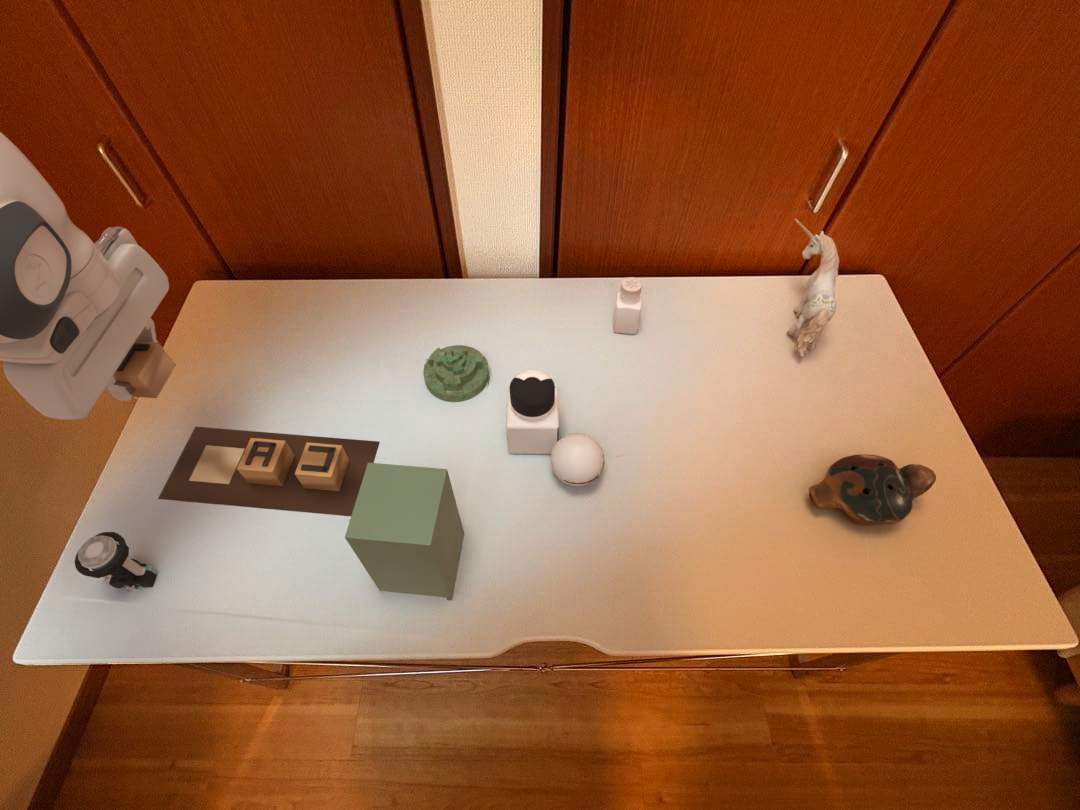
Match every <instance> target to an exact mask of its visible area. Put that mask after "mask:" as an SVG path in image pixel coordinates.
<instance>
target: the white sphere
mask: <svg viewBox="0 0 1080 810" xmlns="http://www.w3.org/2000/svg"><path fill="white" fill-rule="evenodd" d="M622 456H623V454H621V455H620V457H622ZM617 457H619V455H617V456H616V458H617ZM614 458H615V456H613V457H612V459H614ZM610 459H611V458H608V460H610ZM549 460H550V466H551V470H552V472H553V474H554V475H555V477H556V478H557V479H558V480H559V481H561V483H563V484H566V485H568V486H570V487H584V486H587V485H589V484H591V483H594V481H596V480H597V479H598V478H599V476H600V474H601V472H602V471H603V469H604V466H605V455H604V452H603V448H602V446H601V445H600V444H599V442H598V441H597V440H595V438H593V437H592V436H591V435H588V434H586V433H583V432H572V433H569V434H566V435H564V436H562V437H561V438H560V439H558V442H556V444H555V446H554V447H553V450H552V453H551V454H550V459H549Z"/></svg>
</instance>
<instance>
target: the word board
mask: <svg viewBox="0 0 1080 810" xmlns="http://www.w3.org/2000/svg"><path fill="white" fill-rule="evenodd" d="M250 438H258V439H270V440H283V441H286V443H287V444H288V446H289V447H290V449H291V450H292V452H293V454H294V455H295V456H294V459H293V462H292V464H291V467H290V469H289V472H288V474H287V477H286V479H285V482H284V485H283V486H275V485H264V484H252V483H248V482H247V481H246V480H245V478H244V477H243V476H242V475H241V473H240V472H239V471H238V470H237V467H238V465H239V463H240V460H241V458H242V456H243V454H244V452H245V449H246V447H247V445H248V443H249V441H250ZM306 443H320V444H332V445H342V447H343V449H344V451H345V453H346V455H347V457H348V458H349V463H348V466H347V469H346V472H345V475H344V478H343V481H342V484H341V487H340V490H339V491H331V490H320V489H309V488H304V487H303V486H302V484H301V483H300V481H299V480H298V478H297V477H296V475H295V472H296V469H297V466H298V464H299V461H300V459H301V456H302V453H303V451H304V448H305V446H306ZM380 443H381V441H378V440H367V439H366V440H365V439H353V438H342V437H341V438H340V437H329V436H317V435H316V436H315V435H303V434H293V433H280V432H269V431H268V432H267V431H257V430H243V429H233V428H232V429H231V428H217V427H207V426H195V427H194V428H193V430H192V432H191V434H190V436H189V438H188V440H187V442H186V444H185V445H184V447H183V450H182V452H181V453H180V455H179V456H178V459H177V461H176V463H175V465H174V467H173V469H172V470H171V473H169V474H170V475H169V476H168V478H167V481H166V483H165V484H164V486H163V487H162V490H161V492H160V494H159V496H158V498H157V500H164V501H174V502H175V501H177V502H186V503H198V504H207V505H208V504H209V505H218V506H219V505H220V506H230V507H241V508H253V509H263V510H264V509H265V510H275V511H286V512H287V511H288V512H297V513H307V514H319V515H328V516H329V515H331V516H339V517H340V516H342V517H351V516H352V513H353V509H354V506H355V503H356V500H357V496H358V493H359V490H360V487H361V483H362V480H363V477H364V474H365V470H366V467H367V464H368V463H375V460H376V456H377V453H378V449H379V446H380Z"/></svg>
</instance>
